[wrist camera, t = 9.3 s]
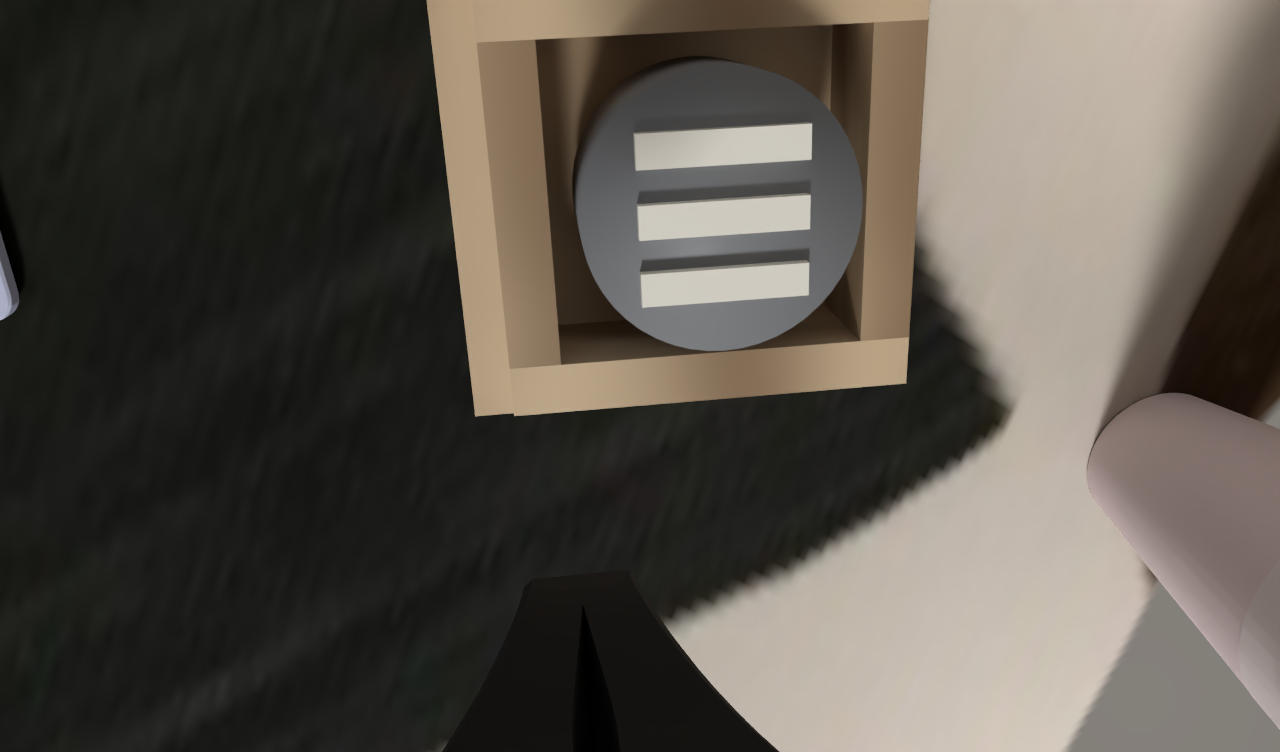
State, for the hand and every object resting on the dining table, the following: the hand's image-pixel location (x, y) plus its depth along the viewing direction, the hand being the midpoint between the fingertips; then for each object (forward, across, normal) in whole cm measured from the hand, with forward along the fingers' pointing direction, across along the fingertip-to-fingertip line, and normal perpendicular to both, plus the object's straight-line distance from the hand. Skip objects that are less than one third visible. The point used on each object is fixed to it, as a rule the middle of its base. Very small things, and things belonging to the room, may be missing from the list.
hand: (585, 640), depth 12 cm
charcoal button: (+9, -3, -4) cm, 10 cm away
